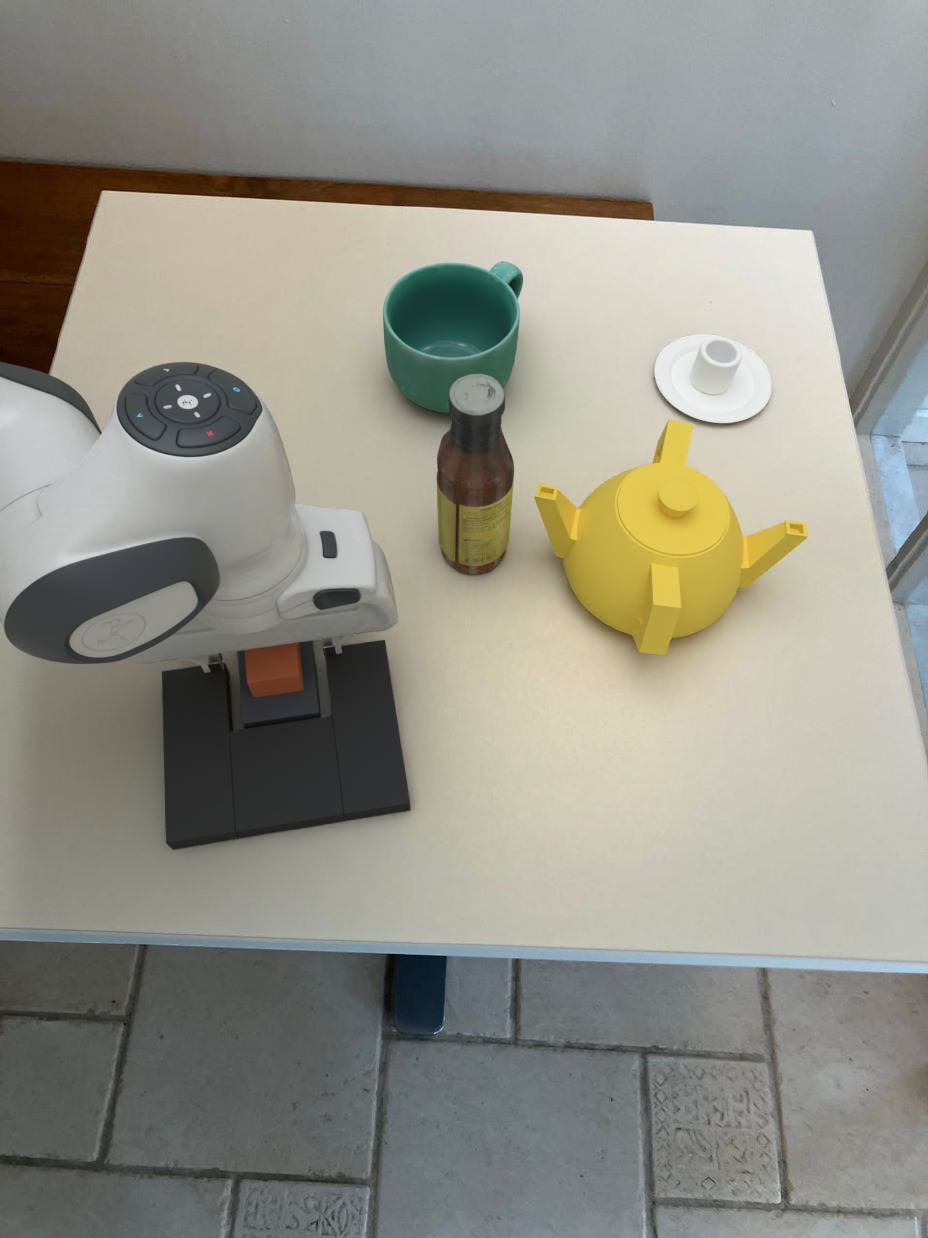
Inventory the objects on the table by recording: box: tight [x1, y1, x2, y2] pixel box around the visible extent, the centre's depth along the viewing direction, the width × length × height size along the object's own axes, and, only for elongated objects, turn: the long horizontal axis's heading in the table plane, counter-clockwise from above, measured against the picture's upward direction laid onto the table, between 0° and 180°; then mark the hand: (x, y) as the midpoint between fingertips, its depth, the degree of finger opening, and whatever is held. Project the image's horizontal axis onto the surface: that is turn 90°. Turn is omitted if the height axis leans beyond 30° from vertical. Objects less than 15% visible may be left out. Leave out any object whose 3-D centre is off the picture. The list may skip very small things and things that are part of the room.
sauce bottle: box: [436, 374, 515, 575], centre depth 71 cm, size 7×6×20 cm
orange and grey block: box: [237, 640, 322, 729], centre depth 71 cm, size 6×10×5 cm, turn 10°
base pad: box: [161, 639, 411, 850], centre depth 70 cm, size 18×14×2 cm
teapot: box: [534, 418, 809, 656], centre depth 74 cm, size 17×17×12 cm
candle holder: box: [653, 333, 773, 424], centre depth 89 cm, size 12×12×4 cm
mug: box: [382, 260, 524, 414], centre depth 86 cm, size 17×13×10 cm
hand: (273, 655), depth 71 cm, fingers open, 8 cm apart
